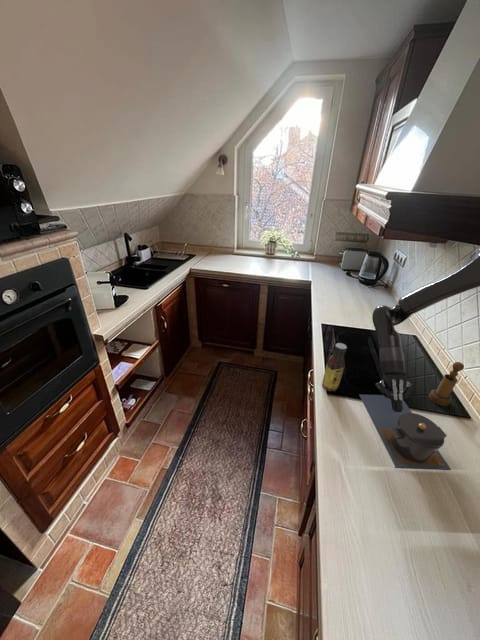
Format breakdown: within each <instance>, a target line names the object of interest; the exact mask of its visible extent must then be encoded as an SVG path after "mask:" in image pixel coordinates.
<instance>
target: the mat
mask: <svg viewBox="0 0 480 640" xmlns="http://www.w3.org/2000/svg"><path fill="white" fill-rule="evenodd" d="M358 395H359V398H360V400H361V401H362V404H363V406H364V407H365V410H366V411H367V414H368V415H369V418H370V419H371V422H372V424H373V426H374V428H375V430H376V431H377V433H378V435H379V438H380V439H381V441H382V443H383V446H384V447H385V449H386V452H387V453H388V455H389V457H390V459H391V461H392V463H393V465H394V469H407V470H408V469H410V470H411V469H413V470H434V471H435V470H439V471H451V470H452V468H451V467H450V466H449V464H448V463H447V461H446V460H445V458H444V457H443V455H442V454H441V453H440V451H439V449H437V451H436V452H435V454H434V455H433V457H432V458H431V460H430V461H429V462H427V463H424V464H419V463H415V462H412V461H410V460H408V459H406V458H404V457H403V456H402V455H400V454H399V453H398V452H397V451H396V449H395V448H394V446H393V445H392V442H391V436H392V434H393V433H392V432H391V429H393V428H396V426H397V421H398V418H399V417H400V416H401V415H403V414H405V413H413V411H412V410H411V409H410V407H409V406H408V404H407V403H406V402H405V399H403V400H402V406H403V410H402V412H394V410H393V409H392V403H391V399H389V398H386V397H385V396H384V395H383V394H361V393H360V394H358Z"/></svg>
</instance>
